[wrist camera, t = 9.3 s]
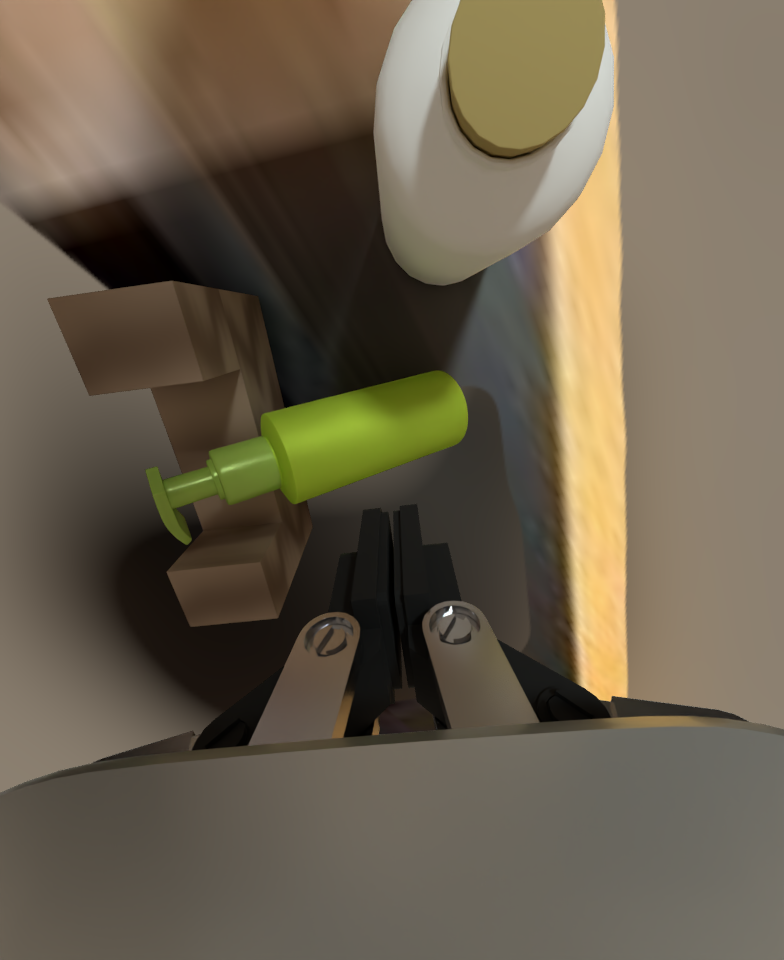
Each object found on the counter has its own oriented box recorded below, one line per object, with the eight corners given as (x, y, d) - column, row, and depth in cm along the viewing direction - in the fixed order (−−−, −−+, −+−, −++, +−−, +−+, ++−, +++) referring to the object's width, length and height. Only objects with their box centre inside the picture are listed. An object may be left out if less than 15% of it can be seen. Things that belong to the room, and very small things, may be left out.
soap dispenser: (411, 423, 33) (163, 502, 25) (428, 354, 28) (122, 424, 20) (451, 468, 31) (187, 576, 22) (478, 402, 25) (145, 507, 17)
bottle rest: (180, 306, 28) (46, 298, 17) (257, 296, 28) (172, 280, 17) (251, 533, 36) (190, 626, 25) (312, 526, 36) (277, 618, 25)
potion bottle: (504, 140, 25) (737, -231, 8) (498, 283, 28) (655, 228, 11) (377, 150, 25) (350, -192, 8) (386, 290, 28) (378, 248, 11)
